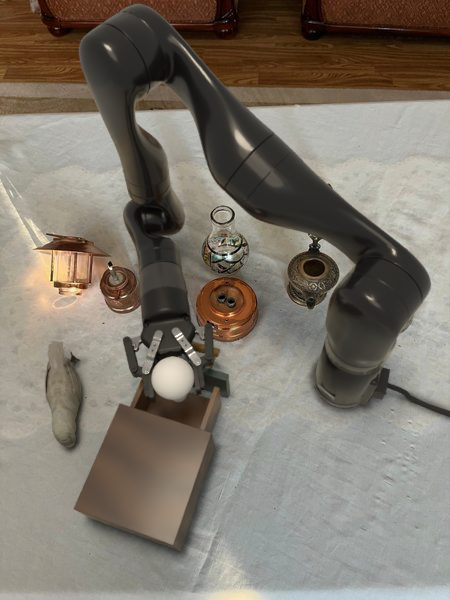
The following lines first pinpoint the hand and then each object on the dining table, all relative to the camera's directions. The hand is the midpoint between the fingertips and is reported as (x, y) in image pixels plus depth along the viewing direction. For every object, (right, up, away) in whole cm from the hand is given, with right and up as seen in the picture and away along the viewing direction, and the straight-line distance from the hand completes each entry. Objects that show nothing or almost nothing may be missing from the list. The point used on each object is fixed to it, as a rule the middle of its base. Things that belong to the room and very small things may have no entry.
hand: (176, 396), depth 75 cm
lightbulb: (0, -1, +7) cm, 7 cm away
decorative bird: (-19, -3, +14) cm, 24 cm away
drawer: (0, -4, +11) cm, 12 cm away
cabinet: (-4, -15, +6) cm, 16 cm away
